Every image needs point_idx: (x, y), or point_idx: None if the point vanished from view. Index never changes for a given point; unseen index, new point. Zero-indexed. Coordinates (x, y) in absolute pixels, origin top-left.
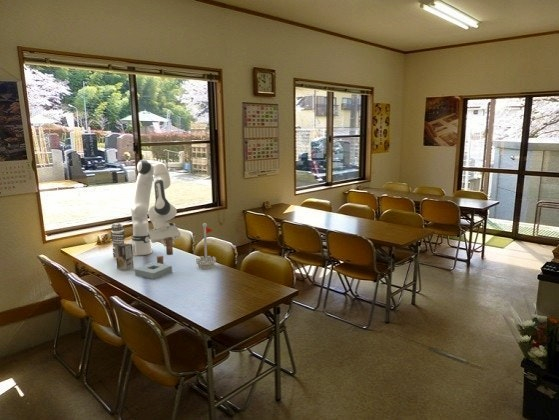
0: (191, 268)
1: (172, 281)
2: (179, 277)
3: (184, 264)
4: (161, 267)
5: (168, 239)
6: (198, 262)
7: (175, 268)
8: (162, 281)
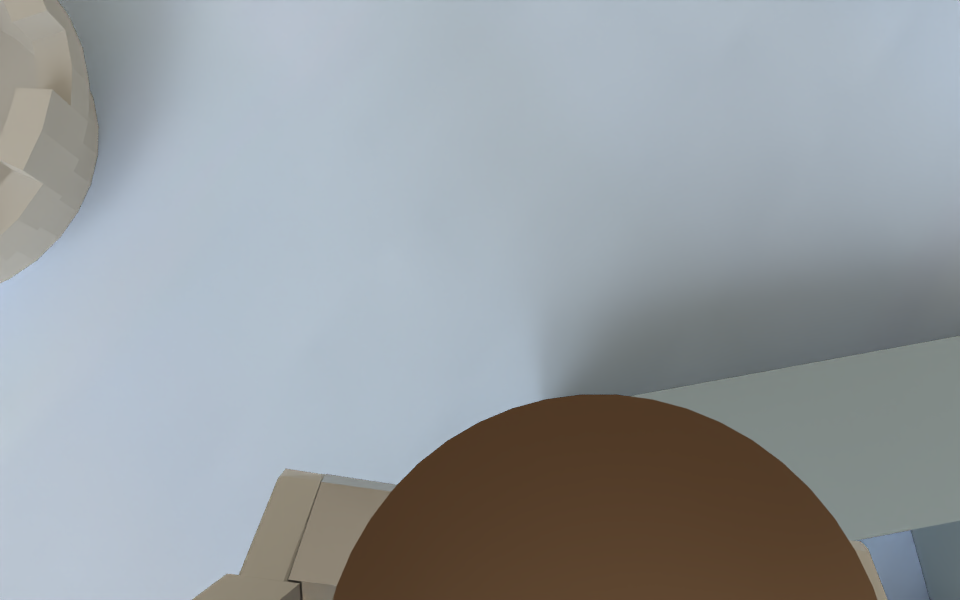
0: (191, 271)
1: (827, 11)
2: (639, 68)
3: (95, 586)
4: None
5: (768, 477)
6: (63, 104)
7: None
8: (945, 134)
